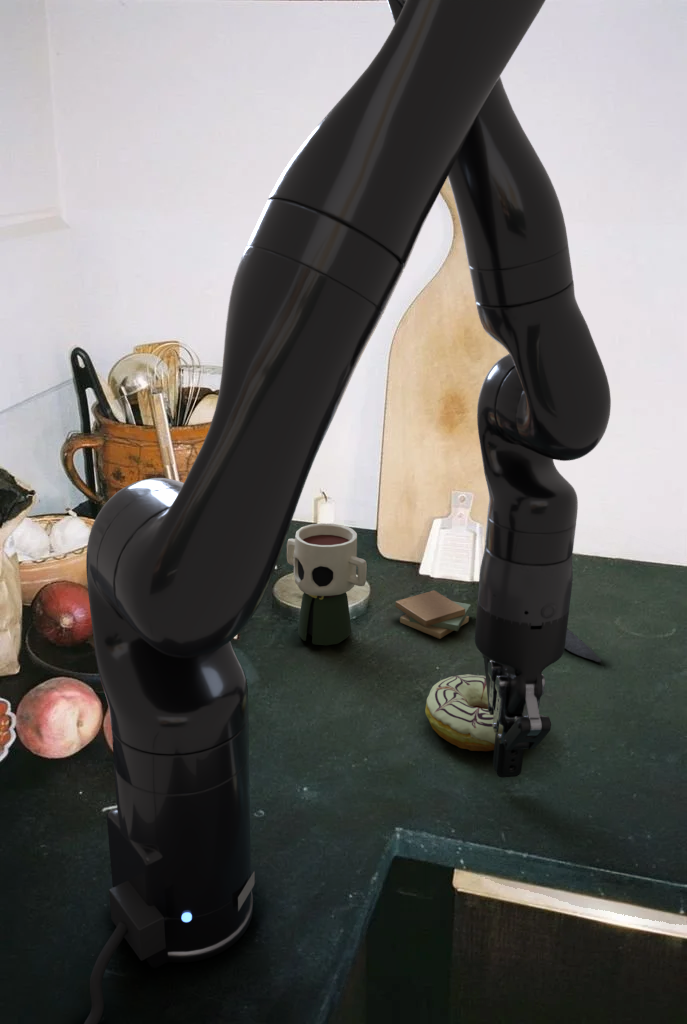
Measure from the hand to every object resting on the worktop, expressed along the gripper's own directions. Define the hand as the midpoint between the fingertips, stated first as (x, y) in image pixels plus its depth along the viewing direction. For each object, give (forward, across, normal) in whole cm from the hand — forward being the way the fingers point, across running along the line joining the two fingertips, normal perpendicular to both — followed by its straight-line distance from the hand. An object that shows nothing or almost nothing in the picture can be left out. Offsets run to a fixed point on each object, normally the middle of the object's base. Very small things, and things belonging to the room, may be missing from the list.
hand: (506, 772), depth 84 cm
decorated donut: (+2, -9, 0) cm, 10 cm away
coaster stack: (+2, -32, 0) cm, 32 cm away
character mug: (+2, -29, -14) cm, 32 cm away
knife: (+2, -28, +13) cm, 31 cm away
